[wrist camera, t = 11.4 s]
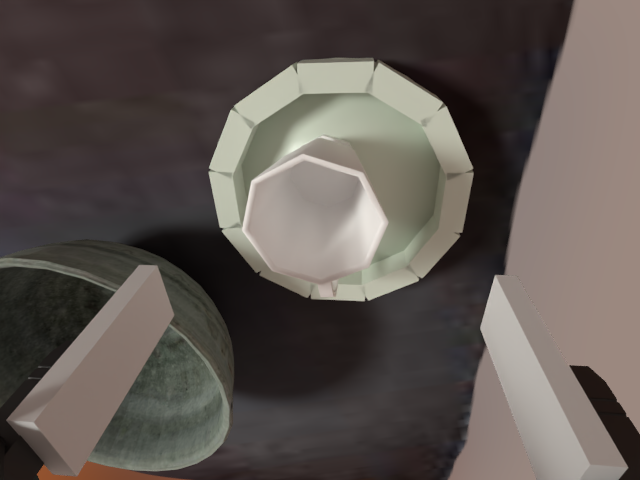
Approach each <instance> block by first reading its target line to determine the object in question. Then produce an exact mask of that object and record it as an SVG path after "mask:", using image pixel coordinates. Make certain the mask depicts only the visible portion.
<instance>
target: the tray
mask: <svg viewBox="0 0 640 480" xmlns="http://www.w3.org/2000/svg"><path fill="white" fill-rule="evenodd" d="M322 134H325V135H328V136H332V137H335V138H338V139H341V140H344V141H347V142H349V143H350V145H351V147H352V149H353V150H354V151H355V152H356V154H357V156H358V158H359V160H360V162H361V164H362V166H363V168H364V170H365V172H366V174H367V176H368V178H369V180H370V182H371V184H372V186H373V188H374V191H375V193H376V195H377V198H378V200H379V202H380V204H381V206H382V208H383V210H384V212H385V215H386V217H387V219H388V222H389V223H388V225H387V228H386V230H385V232H384V234H383V237H382V239H381V241H380V243H379V246H378V248H377V250H376V252H375V255H374V257H373V259H372V261H371V264H370V266H369V268H366V269H363V270H361V271H358V272H355V273H353V274H350V275H348V276H345V277H342V278H340V279H339V280H338V289H337V294H336V297H321V296H320V293H319V289H318V284H315V283H312V282H308V281H305V280H301V279H298V278H294V277H291V276H287V275H284V274H280V273H277V272H273V271H271V269H270V268H269V267H268V265H267V264H266V263H265V261H264V260H263V258H262V257H261V256H260V254H259V253H258V252H257V250H256V249H255V248H254V246H253V245H252V243H251V242H250V241H249V239H248V238H247V237H246V235H245V234H244V233H243V231H242V227H243V222H244V216H245V211H246V206H247V201H248V196H249V191H250V185H251V181H252V180H253V179H254V178H256V177H257V176H258V175H260V174H261V173H262V172H264V171H265V170H267V169H268V168H269V167H271V166H272V165H273V164H274V163H276V162H277V161H278V160H280V159H281V158H282V157H283V156H285V155H287V154H289V153H291V152H293V151H295V150H296V149H298V148H300V146H302V145H304V144H306V143H307V142H309V141H311V140H313V139H315V138H317V137H319V136H321V135H322ZM209 168H210V169H211V170H210V171H209V176H210V181H211V186H212V191H213V196H214V201H215V206H216V211H217V216H218V221H219V226H220V228H223V230H222V232H223V234H224V235H225V236H226V237H227V238H228V240H229V241H230V242H231V243H232V244H233V246H234V247H235V248H236V249H237V250H238V252H239V253H240V254H241V255H242V256H243V258H244V259H245V260H246V261H247V262H248V264H249V265H250V266H251V267H252V268H253V270H254V271H255V272H256V273H257V272H260V271H261V272H260V276H262V277H264V278H266V279H268V280H270V281H272V282H274V283H277V284H279V285H281V286H283V287H285V288H287V289H289V290H291V291H293V292H296V293H298V294H300V295H302V296H304V297H306V298H308V297H309V295H310V294H311V299H322V300H348V301H365V296H366V298H367V299H368V301H369V300H371V299H374V298H376V297H379V296H381V295H384V294H386V293H389V292H392V291H394V290H397V289H399V288H402V287H404V286H407V285H409V284H412V283H414V282H417V281H419V277H421V278H423V277H424V276H425V275H426V274H427V273H428V272H429V271H430V270H431V268H432V267H433V266H434V265H435V264H436V263H437V262H438V261H439V260H440V258H441V257H442V256H443V255H444V254H445V253H446V252H447V251H448V250H449V248H450V247H451V246H452V245H453V244H454V243H455V242H456V241H457V240H458V238H459V237H460V234H459V233H462V231H463V226H464V221H465V216H466V211H467V206H468V200H469V195H470V190H471V185H472V180H473V175H474V173H473V171H472V170H471V169H473V166H472V164H471V162H470V159H469V157H468V155H467V153H466V150H465V148H464V146H463V143H462V141H461V139H460V136H459V134H458V132H457V129H456V127H455V125H454V123H453V120H452V118H451V116H450V113H449V111H448V109H447V106H446V105H445V104H444V103H443V102H442V101H441V100H440V99H439V98H438V97H437V96H436V95H435V94H433V93H431V92H430V91H428V90H427V89H425V88H423V87H422V86H420V85H419V84H417V83H416V82H414V81H413V80H411V79H410V78H409V77H407V76H406V75H404V74H402V73H400V72H398V71H397V70H395V69H393V68H391V67H390V66H388V65H387V64H385V63H383V62H382V61H380V60H379V59H378V60H377V62H374V60H373V58H345V57H336V58H326V59H314V60H301V61H300V62H298V61H297V62H296V63H294V64H293V65H291V66H290V67H288V68H287V69H286V70H284V71H283V72H281V73H280V74H279V75H277V76H276V77H274V78H273V79H271V80H270V81H269V82H267V83H266V84H264V85H263V86H261V87H260V88H259V89H257V90H256V91H254V92H253V93H252V94H250V95H249V96H247V97H246V98H244V99H243V100H242V101H240V102H239V103H237V104H236V105H234V108H233V109H231V111H230V114H229V116H228V119H227V122H226V124H225V127H224V130H223V132H222V135H221V137H220V140H219V143H218V145H217V148H216V151H215V153H214V156H213V158H212V161H211V164H210V166H209ZM418 276H419V277H418Z"/></svg>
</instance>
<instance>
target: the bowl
mask: <svg viewBox="0 0 640 480" xmlns="http://www.w3.org/2000/svg"><path fill="white" fill-rule="evenodd" d="M139 265H157V266H158V269H159V272H160V275H161V278H162V281H163V283H164V286H165V289H166V292H167V295H168V298H169V301H170V304H171V307H172V310H173V313H174V317H173V318H172V320H171V322H170V323H169V325H168V327H167V328H166V330H165V332H164V333H163V335H162V337H161V338H160V340H159V342H158V343H157V345H156V347H155V348H154V350H153V351H152V353H151V355H150V356H149V358H148V360H147V361H146V363H145V365H144V366H143V368H142V370H141V371H140V373H139V375H138V376H137V378H136V380H135V381H134V383H133V385H132V386H131V388H130V389H129V391H128V393H127V394H126V396H125V398H124V399H123V401H122V403H121V404H120V406H119V408H118V409H117V411H116V413H115V414H114V416H113V418H112V419H111V421H110V423H109V424H108V426H107V427H106V429H105V431H104V432H103V434H102V436H101V437H100V439H99V441H98V442H97V444H96V446H95V447H94V449H93V451H92V452H91V454H90V456H89V457H88V459H87V461H90V462H94V463H98V464H102V465H106V466H111V467H117V468H123V469H129V470H141V471H164V470H174V469H180V468H184V467H187V466H190V465H193V464H197V463H198V462H200V461H202V460H203V459H205V458H207V457H209V456H210V455H212V454H213V453H214V452H215V451H216V450H217V449H218V448H219V447H220V446H221V445H222V444H223V442H224V441H225V440H226V439H227V437H228V434H229V432H230V429H231V427H232V424H233V397H232V396H233V386H234V357H233V349H232V343H231V339H230V336H229V333H228V330H227V326H226V324H225V322H224V320H223V318H222V316H221V315H220V313H219V311H218V310H217V308H216V306H215V304H214V303H213V301H212V300H211V298H210V297H209V296H208V295H207V293H206V292H205V291H204V290H203V288H202V287H201V286H200V285H199V284H198V283H197V282H196V281H194V280H193V279H192V278H191V277H190V276H188V275H187V274H186V273H185V272H184V271H182V270H181V269H179V268H178V267H176V266H175V265H173V264H172V263H170V262H169V261H167V260H166V259H164V258H162V257H160V256H157V255H155V254H152V253H150V252H148V251H145V250H143V249H140V248H136V247H132V246H128V245H125V244H121V243H115V242H107V241H97V240H87V239H86V240H76V241H67V242H60V243H52V244H47V245H43V246H39V247H34V248H30V249H26V250H22V251H19V252H16V253H13V254H10V255H6V256H3V257H1V258H0V408H1V407H2V405H3V404H4V403H5V402H6V401H7V400H8V399H9V398H10V397H11V395H12V394H13V393H14V392H15V391H16V390H17V389H18V388H19V387H20V385H21V384H22V383H23V382H24V381H25V380H28V377H29V375H30V374H31V373H32V372H33V371H34V370H35V369H37V368H38V365H39V364H40V363H41V362H42V361H43V360H44V359H45V358H46V357H47V355H48V354H49V353H50V352H51V351H53V350H54V349H56V348H57V347H58V346H60V345H61V344H63V343H64V342H65V341H75V339H76V338H77V337H78V336H79V335H80V334H81V332H82V331H83V330H84V329H85V328H86V327H87V325H88V324H89V323H90V322H91V321H92V320H93V318H94V317H95V316H96V315H97V314H98V313H99V311H100V310H101V309H102V308H103V307H104V306H105V304H106V303H107V302H108V301H109V300H110V299H111V297H112V296H113V295H114V294H115V293H116V292H117V290H118V289H119V288H120V287H121V286H122V285H123V283H124V282H125V281H126V280H127V279H128V278H129V276H130V275H131V274H132V273H133V272H134V271H135V269H136V268H137V267H138V266H139Z"/></svg>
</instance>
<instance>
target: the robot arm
mask: <svg viewBox="0 0 640 480" xmlns="http://www.w3.org/2000/svg"><path fill="white" fill-rule="evenodd" d="M173 317H174V313H173V310H172V307H171V304H170V301H169V298H168V295H167V292H166V289H165V286H164V283H163V281H162V278H161V275H160V272H159V269H158V266H157V265H139V266H138V267H137V268H136V269H135V271H134V272H133V273H132V274H131V275H130V276H129V278H128V279H127V280H126V281H125V282H124V283H123V285H122V286H121V287H120V288H119V289H118V290H117V292H116V293H115V294H114V295H113V296H112V297H111V299H110V300H109V301H108V302H107V303H106V304H105V306H104V307H103V308H102V309H101V310H100V311H99V313H98V314H97V315H96V316H95V317H94V318H93V320H92V321H91V322H90V323H89V324H88V325H87V327H86V328H85V329H84V330H83V331H82V332H81V334H80V335H79V336H78V337H77V338H76V339H75V341H65V342H64V343H63V344H61V345H60V346H58V347H57V348H56V349H54V350H53V351H51V352H50V353H49V354H48V355H47V357H46V358H45V359H44V360H43V361H42V362H41V363H40V364H39V365H38V368H37V369H35V370H34V371H33V372H32V373H31V374H30V375H29V377H28V380H25V381H24V382H23V383H22V384H21V385H20V387H19V388H18V389H17V390H16V391H15V392H14V393H13V394H12V395H11V397H10V398H9V399H8V400H7V401H6V402H5V403H4V404H3V405H2V407H1V408H0V480H39V478H38V476H37V473H38V472H39V470H40V469H41V467H42V466H43V465H45V466H46V467H47V468H48V469H49V470H50V472H51V473H52V474H57V475H67V476H77V475H78V474H79V472H80V470H81V469H82V467H83V465H84V464H85V462H86V461H87V459H88V457H89V456H90V454H91V452H92V451H93V449H94V447H95V446H96V444H97V442H98V441H99V439H100V437H101V436H102V434H103V432H104V431H105V429H106V427H107V426H108V424H109V423H110V421H111V419H112V418H113V416H114V414H115V413H116V411H117V409H118V408H119V406H120V404H121V403H122V401H123V399H124V398H125V396H126V394H127V393H128V391H129V389H130V388H131V386H132V385H133V383H134V381H135V380H136V378H137V376H138V375H139V373H140V371H141V370H142V368H143V366H144V365H145V363H146V361H147V360H148V358H149V356H150V355H151V353H152V351H153V350H154V348H155V347H156V345H157V343H158V342H159V340H160V338H161V337H162V335H163V333H164V332H165V330H166V328H167V327H168V325H169V323H170V322H171V320H172V318H173ZM480 329H481V332H482V334H483V337H484V340H485V343H486V345H487V348H488V351H489V353H490V356H491V359H492V361H493V363H494V367H495V369H496V372H497V375H498V378H499V380H500V383H501V386H502V388H503V391H504V394H505V396H506V399H507V402H508V404H509V407H510V410H511V412H512V415H513V418H514V421H515V423H516V426H517V429H518V431H519V434H520V437H521V439H522V442H523V445H524V448H525V450H526V453H527V456H528V458H529V461H530V464H531V466H532V469H533V472H534V474H535V477H536V480H640V434H639V433H638V431H637V429H636V428H635V426H634V425H633V423H632V422H631V420H630V419H629V417H626V413H625V411H624V410H623V408H622V406H621V405H620V404H619V403H618V402H617V399H616V397H615V396H614V394H613V393H612V391H611V390H610V388H609V387H608V385H607V384H606V382H605V381H604V380H603V379H602V378H601V377H599V376H598V375H597V374H596V373H595V372H594V371H593V370H592V369H591V368H589V367H588V366H571V365H568V363H567V361H566V359H565V358H564V356H563V354H562V352H561V351H560V349H559V347H558V346H557V344H556V342H555V341H554V339H553V337H552V335H551V334H550V332H549V330H548V328H547V327H546V325H545V323H544V321H543V320H542V318H541V316H540V315H539V313H538V311H537V309H536V308H535V306H534V304H533V303H532V301H531V299H530V297H529V296H528V294H527V292H526V290H525V289H524V287H523V286H522V284H521V282H520V280H519V278H518V277H517V276H509V275H495V277H494V281H493V285H492V288H491V292H490V295H489V299H488V302H487V306H486V309H485V313H484V317H483V320H482V324H481V327H480Z"/></svg>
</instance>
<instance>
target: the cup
mask: <svg viewBox="0 0 640 480" xmlns="http://www.w3.org/2000/svg"><path fill="white" fill-rule="evenodd" d="M388 223H389V222H388V219H387V217H386V215H385V212H384V210H383V208H382V206H381V204H380V202H379V200H378V198H377V195H376V193H375V191H374V188H373V186H372V184H371V182H370V180H369V178H368V176H367V174H366V172H365V170H364V168H363V166H362V164H361V162H360V160H359V158H358V156H357V154H356V152H355V151H354V150H353V149H352V147H351V145H350V143H349V142H347V141H344V140H341V139H338V138H335V137H332V136H328V135H325V134H322V135H321V136H319V137H317V138H315V139H313V140H311V141H309V142H307V143H306V144H304V145H302V146H300V148H298V149H296V150H295V151H293V152H291V153H289V154H287V155H285V156H283V157H282V158H281V159H280V160H278V161H277V162H276V163H274V164H273V165H272V166H271V167H269V168H268V169H267V170H265V171H264V172H262V173H261V174H260V175H258V176H257V177H256V178H254V179H253V180H252V181H251V185H250V191H249V196H248V201H247V206H246V211H245V216H244V222H243V227H242V231H243V233H244V234H245V235H246V237H247V238H248V239H249V241H250V242H251V243H252V245H253V246H254V248H255V249H256V250H257V252H258V253H259V254H260V256H261V257H262V258H263V260H264V261H265V263H266V264H267V265H268V267H269V268H270V269H271V271H273V272H277V273H280V274H284V275H287V276H291V277H294V278H298V279H301V280H305V281H308V282H312V283H315V284H318V289H319V293H320V296H321V297H336V294H337V289H338V280H339V279H340V278H342V277H345V276H348V275H350V274H353V273H355V272H358V271H361V270H363V269H366V268H369V266H370V264H371V261H372V259H373V257H374V255H375V252H376V250H377V248H378V246H379V243H380V241H381V239H382V237H383V234H384V232H385V230H386V228H387V225H388Z"/></svg>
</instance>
